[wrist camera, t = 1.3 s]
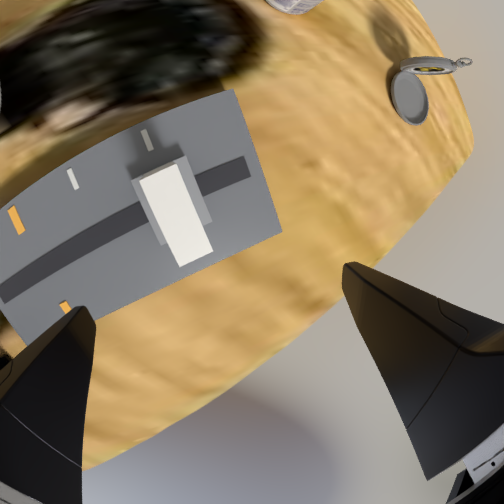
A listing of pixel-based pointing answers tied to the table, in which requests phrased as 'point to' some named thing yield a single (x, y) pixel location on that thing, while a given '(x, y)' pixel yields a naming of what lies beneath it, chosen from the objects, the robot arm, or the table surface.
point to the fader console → (128, 216)
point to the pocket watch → (418, 85)
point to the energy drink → (294, 5)
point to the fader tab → (175, 209)
